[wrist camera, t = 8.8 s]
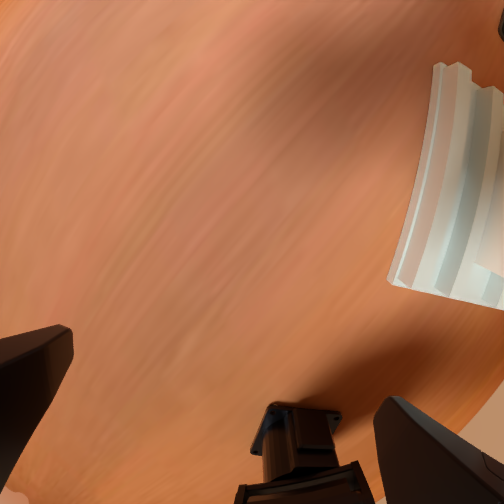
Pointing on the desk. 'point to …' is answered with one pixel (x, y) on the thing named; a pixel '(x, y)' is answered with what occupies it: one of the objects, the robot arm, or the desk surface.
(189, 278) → the desk surface
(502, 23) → the smartphone
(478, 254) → the white rectangular block
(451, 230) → the rack
